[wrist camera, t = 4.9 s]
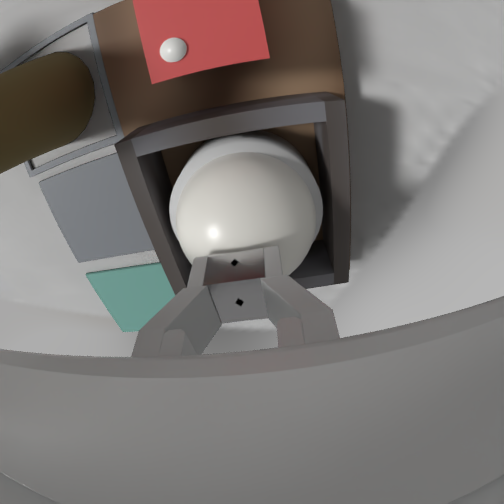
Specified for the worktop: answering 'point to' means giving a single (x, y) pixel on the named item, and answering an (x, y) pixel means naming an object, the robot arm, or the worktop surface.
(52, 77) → the cork
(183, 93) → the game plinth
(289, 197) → the dome
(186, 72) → the red die
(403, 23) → the worktop surface
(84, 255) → the flat grey zoned board
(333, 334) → the robot arm
